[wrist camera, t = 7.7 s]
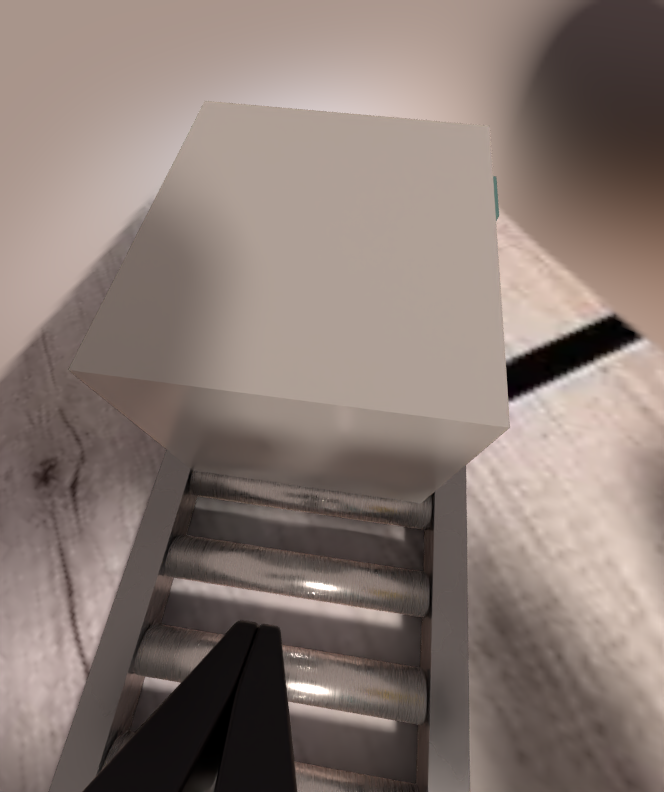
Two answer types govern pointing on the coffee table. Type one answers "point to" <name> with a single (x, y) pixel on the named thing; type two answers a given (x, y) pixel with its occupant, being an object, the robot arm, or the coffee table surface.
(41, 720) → the coffee table surface
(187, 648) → the roller bed
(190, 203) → the off-white matte cube
